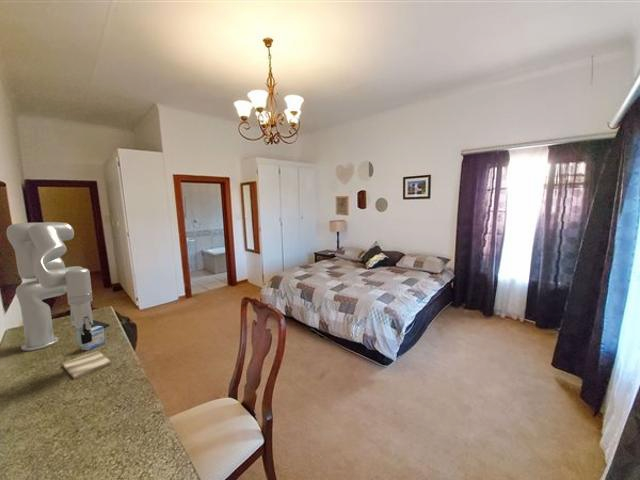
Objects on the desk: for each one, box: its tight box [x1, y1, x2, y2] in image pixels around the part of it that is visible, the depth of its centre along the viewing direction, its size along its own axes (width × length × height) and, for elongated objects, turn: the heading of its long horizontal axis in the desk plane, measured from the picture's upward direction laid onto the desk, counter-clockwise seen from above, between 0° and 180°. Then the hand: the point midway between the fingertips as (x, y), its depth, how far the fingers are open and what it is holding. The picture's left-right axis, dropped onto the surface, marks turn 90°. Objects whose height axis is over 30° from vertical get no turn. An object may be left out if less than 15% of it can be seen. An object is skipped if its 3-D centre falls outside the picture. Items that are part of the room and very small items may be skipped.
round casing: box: [75, 325, 92, 347], centre depth 111 cm, size 5×5×8 cm
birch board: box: [62, 350, 112, 380], centre depth 113 cm, size 16×12×1 cm
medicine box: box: [80, 326, 106, 351], centre depth 128 cm, size 8×4×9 cm, turn 168°
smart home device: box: [91, 319, 110, 329], centre depth 152 cm, size 8×2×20 cm
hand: (84, 340), depth 112 cm, fingers closed on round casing, 4 cm apart
